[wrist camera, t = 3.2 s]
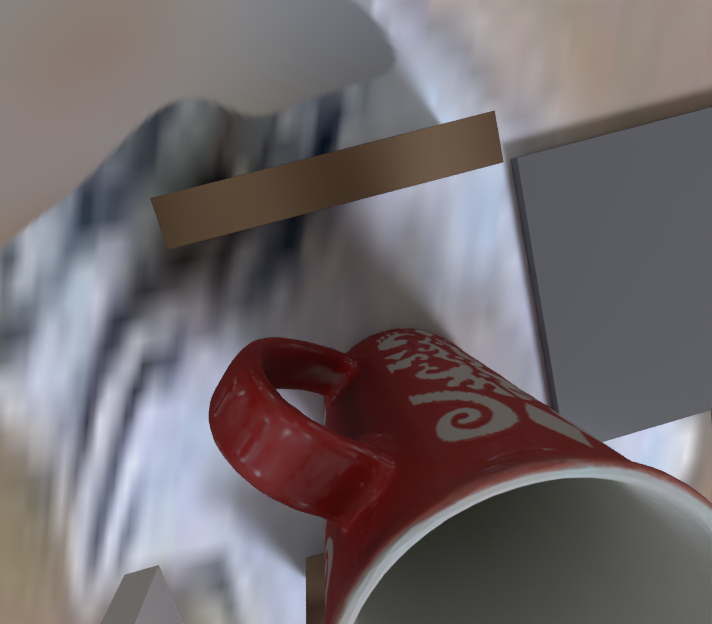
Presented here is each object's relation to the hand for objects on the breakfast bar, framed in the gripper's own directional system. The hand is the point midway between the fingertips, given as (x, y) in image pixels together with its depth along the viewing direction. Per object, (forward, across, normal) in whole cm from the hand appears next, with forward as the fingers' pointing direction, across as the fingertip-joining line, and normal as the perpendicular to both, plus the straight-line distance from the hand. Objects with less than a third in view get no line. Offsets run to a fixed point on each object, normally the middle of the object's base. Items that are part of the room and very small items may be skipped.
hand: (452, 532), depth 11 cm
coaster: (+11, +15, +1) cm, 18 cm away
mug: (+11, 0, 0) cm, 11 cm away
